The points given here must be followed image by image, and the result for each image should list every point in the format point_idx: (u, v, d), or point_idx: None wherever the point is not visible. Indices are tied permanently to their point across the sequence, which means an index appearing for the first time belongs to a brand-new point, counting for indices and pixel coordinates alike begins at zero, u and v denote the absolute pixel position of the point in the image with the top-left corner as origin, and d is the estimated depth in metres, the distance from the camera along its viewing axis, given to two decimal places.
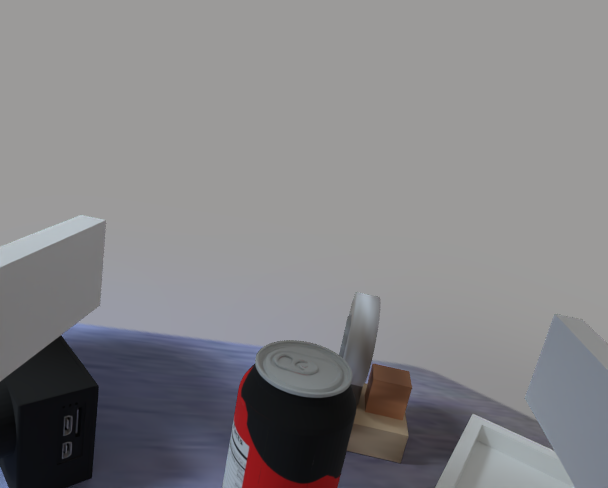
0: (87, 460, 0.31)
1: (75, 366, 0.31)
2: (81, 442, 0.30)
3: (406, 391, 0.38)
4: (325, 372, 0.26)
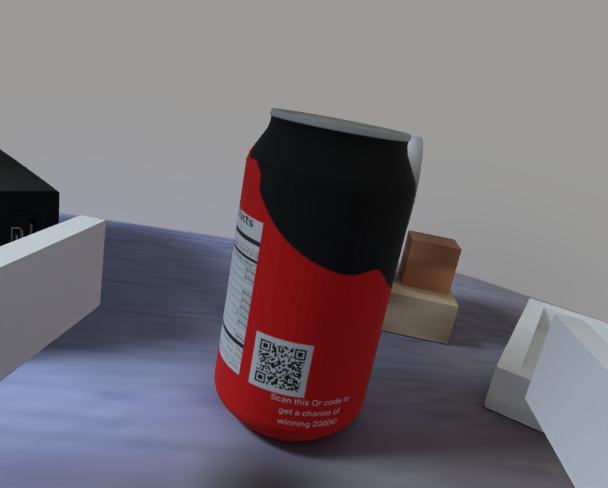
0: None
1: (29, 177, 0.23)
2: None
3: (454, 254, 0.30)
4: None
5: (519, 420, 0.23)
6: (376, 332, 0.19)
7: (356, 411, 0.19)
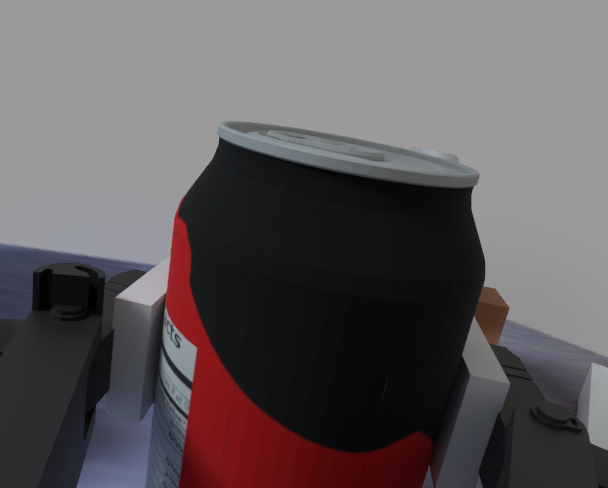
0: None
1: None
2: None
3: (499, 314, 0.22)
4: (404, 164, 0.10)
5: None
6: None
7: None
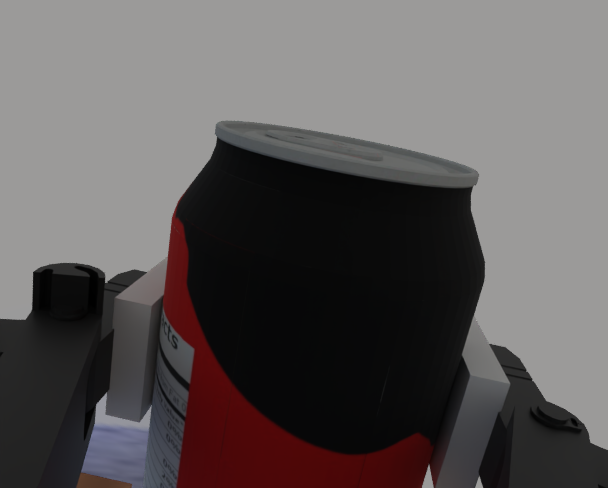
0: None
1: None
2: None
3: None
4: (402, 163, 0.10)
5: None
6: None
7: None
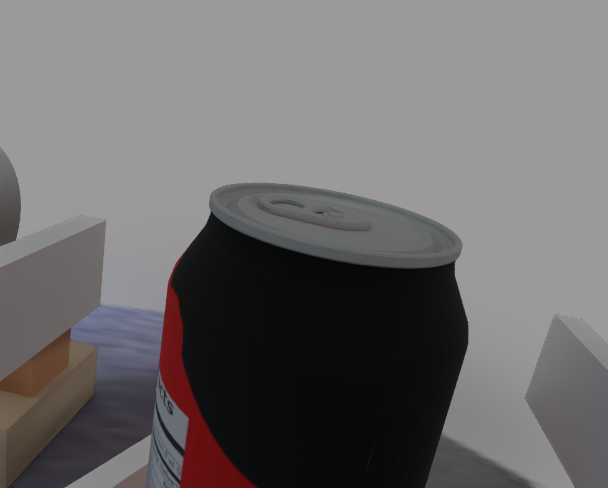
0: None
1: None
2: None
3: None
4: (390, 231, 0.10)
5: None
6: None
7: None
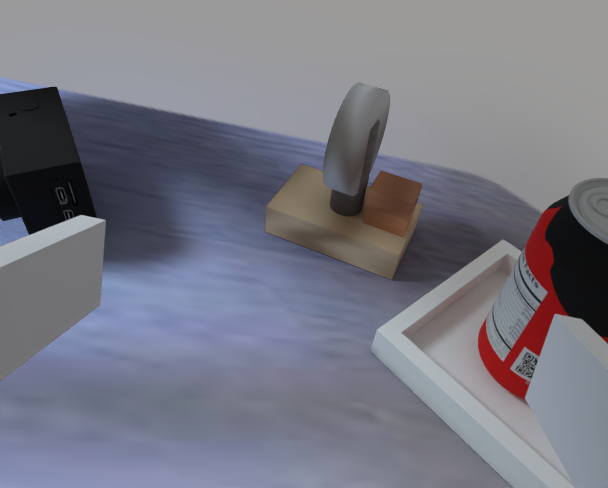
0: None
1: (66, 142, 0.32)
2: (81, 211, 0.33)
3: (406, 206, 0.33)
4: None
5: (391, 368, 0.30)
6: None
7: None
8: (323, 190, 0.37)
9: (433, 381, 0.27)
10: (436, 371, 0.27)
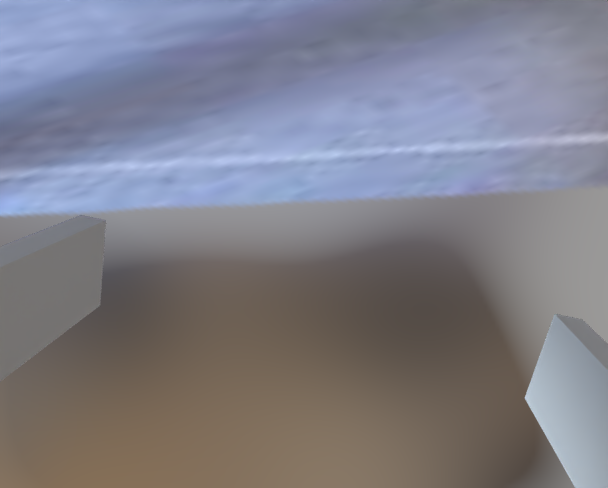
0: None
1: None
2: None
3: None
4: None
5: None
6: None
7: None
8: None
9: None
10: None
